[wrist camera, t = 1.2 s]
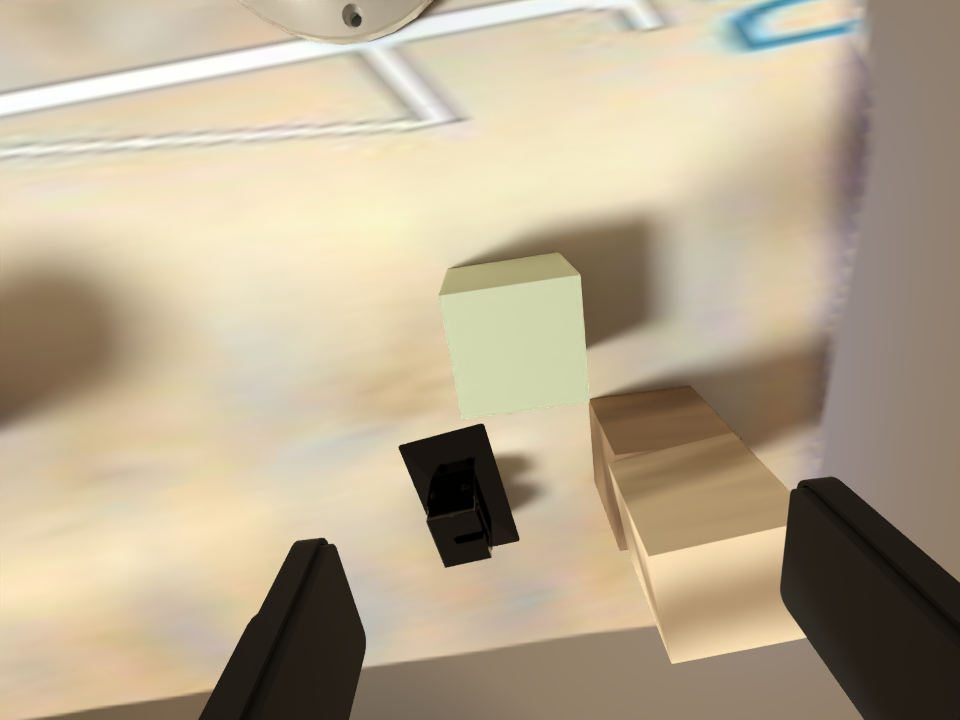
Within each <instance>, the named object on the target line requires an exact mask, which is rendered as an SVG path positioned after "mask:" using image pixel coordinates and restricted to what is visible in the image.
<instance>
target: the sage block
mask: <svg viewBox="0 0 960 720" xmlns="http://www.w3.org/2000/svg"><path fill="white" fill-rule="evenodd" d="M439 301H440V306H441V312H442V317H443V322H444V328H445V333H446V338H447V343H448V349H449V354H450V359H451V365H452V370H453V375H454V381H455V386H456V391H457V396H458V402H459V407H460V412H461V418H462V419H470V418H477V417H485V416H492V415H500V414H507V413H514V412H522V411H529V410H537V409H544V408H552V407H559V406H567V405H574V404H582V403H589V402H590V397H589V384H588V370H587V357H586V343H585V330H584V316H583V303H582V289H581V276H580V274H579V273H578V272H577V271H576V270H575V268H574V267H573V266H572V265H571V264H570V263H569V262H568V261H567V260H566V259H565V258H564V257H563V256H562V255H561V254H560V253H559V252H555V253H549V254H542V255H536V256H529V257H523V258H516V259H510V260H503V261H496V262H490V263H483V264H477V265H470V266H464V267H457V268H451V269H447V272H446V275H445V278H444V281H443V284H442V287H441V290H440V293H439Z"/></svg>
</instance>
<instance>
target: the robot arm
mask: <svg viewBox="0 0 960 720" xmlns="http://www.w3.org/2000/svg"><path fill="white" fill-rule="evenodd" d="M239 1H240V2H241V3H242V4H243V5H244V6H246V7H247V8H248V9H250V10H251V11H253V12H254V13H255V14H257V15H258V16H259V17H261V18H262V19H264V20H265V21H267V22H269V23H271V24H273V25H274V26H276V27H278V28H280V29H282V30H283V31H285V32H287V33H289V34H292V35H295V36H298V37H301V38H304V39H307V40H310V41H314V42H319V43H329V44H339V45H345V44H353V43H361V42H369V41H371V40H374V39H377V38H379V37H382V36H385V35H388V34H390V33H393V32H395V31H396V30H398V29H399V28H401V27H402V26H404V25H405V24H407V23H409V22H410V21H412V20H413V19H415V18H416V17H417V16H418V15H419V14H420V13H421V12H422V11H423V10H424V9H425V8H426V7H427V6H428V5H429V4H430V3H431V2H432V1H433V0H239ZM356 15H357V16H361V18H362V22H361V24H360V26H358V27H354V26H353V25H352V19H353V17H355V16H356ZM780 594H781V597H782V601H783V603H784V605H785V607H786V608H787V610H788V611H789V613H790V614H791V616H792V617H793V619H794V620H795V621H796V623H797V624H798V626H799V627H800V629H801V630H802V631H803V633H804V634H805V636H806V637H807V639H808V640H809V641H810V643H811V644H812V646H813V647H814V649H815V650H816V651H817V653H818V654H819V656H820V657H821V659H822V660H823V661H824V663H825V664H826V666H827V667H828V668H829V670H830V671H831V673H832V674H833V676H834V677H835V679H836V680H837V681H838V683H839V684H840V686H841V687H842V689H843V690H844V691H845V693H846V694H847V696H848V697H849V698H850V700H851V701H852V703H853V704H854V705H855V707H856V709H857V710H858V711H859V713H860V714H861V716H862V717H863V719H864V720H960V582H958V581H957V580H956V579H955V578H954V577H952V576H951V575H950V574H949V573H948V572H947V571H945V570H944V569H943V568H942V567H941V566H940V565H938V564H937V563H936V562H935V561H934V560H932V559H931V558H930V557H929V556H928V555H926V553H924V552H923V551H922V550H921V549H920V548H919V547H917V546H916V545H915V544H914V543H913V542H912V541H910V540H909V539H908V538H907V537H906V536H905V535H903V534H902V533H901V532H900V531H899V530H897V529H896V528H895V527H894V526H893V525H892V524H890V523H889V522H888V521H887V520H886V519H885V518H884V517H882V516H881V515H880V514H879V513H878V512H877V511H875V510H874V509H873V508H872V507H871V506H870V505H868V504H867V503H866V502H865V501H864V500H863V499H861V498H860V497H859V496H858V495H857V494H856V493H854V492H853V491H852V490H851V489H850V488H849V487H847V486H846V485H845V484H844V483H843V482H842V481H840V480H839V479H837V478H835V477H825V478H816V479H808V480H802V481H800V482H799V483H798V486H797V489H793V490H792V491H791V493H790V499H789V508H788V517H787V527H786V536H785V545H784V554H783V564H782V573H781V582H780ZM365 650H366V636H365V632H364V629H363V626H362V623H361V620H360V617H359V614H358V611H357V608H356V605H355V602H354V599H353V596H352V593H351V590H350V587H349V584H348V581H347V578H346V575H345V572H344V569H343V566H342V563H341V560H340V557H339V554H338V551H337V548H336V546H335V545H334V544H328V542H327V540H326V539H325V538H317V539H309V540H300V541H296V542H295V543H294V544H293V546H292V547H291V549H290V551H289V553H288V555H287V557H286V559H285V561H284V563H283V565H282V567H281V569H280V571H279V573H278V575H277V577H276V579H275V581H274V583H273V585H272V587H271V589H270V591H269V593H268V595H267V597H266V599H265V601H264V602H263V604H262V606H261V608H260V610H259V612H258V614H256V615H255V616H254V617H253V618H252V619H251V621H250V622H249V624H248V625H247V627H246V629H245V631H244V633H243V634H242V636H241V638H240V640H239V642H238V644H237V646H236V648H235V650H234V652H233V654H232V656H231V658H230V660H229V662H228V663H227V665H226V667H225V669H224V671H223V673H222V675H221V677H220V679H219V681H218V683H217V685H216V687H215V689H214V690H213V692H212V695H211V697H210V698H209V700H208V702H207V704H206V706H205V708H204V710H203V712H202V714H201V716H200V718H199V720H349V717H350V712H351V708H352V704H353V700H354V696H355V692H356V688H357V684H358V680H359V676H360V671H361V667H362V663H363V659H364V655H365Z"/></svg>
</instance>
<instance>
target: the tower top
mask: <svg viewBox="0 0 960 720" xmlns="http://www.w3.org/2000/svg"><path fill="white" fill-rule="evenodd" d="M608 466H609V470H610V474H611V479H612V483H613V487H614V491H615V495H616V500H617V504H618V508H619V512H620V517H621V521H622V525H623V529H624V534H625V538H626V542H627V546H628V551H629V555H630V557H631V560H632V563H633V565H634V568H635V570H636V573H637V575H638V578H639V581H640V583H641V586H642V588H643V591H644V593H645V596H646V599H647V601H648V604H649V606H650V609H651V611H652V614H653V617H654V619H655V622H656V624H657V627H658V629H659V632H660V635H661V637H662V640H663V642H664V645H665V648H666V650H667V653H668V655H669V658H670V660H671V663H672V664H675V663H679V662H685V661H689V660H695V659H700V658H705V657H710V656H715V655H720V654H725V653H730V652H736V651H740V650H745V649H751V648H756V647H761V646H766V645H771V644H776V643H781V642H786V641H791V640H796V639H801V638H807V637H806V636H805V634H804V633H803V631H802V630H801V629H800V627H799V626H798V624H797V623H796V621H795V620H794V619H793V617H792V616H791V614H790V613H789V611H788V610H787V608H786V607H785V605H784V603H783V601H782V597H781V594H780V582H781V573H782V564H783V554H784V545H785V536H786V527H787V517H788V508H789V499H790V493H791V492H790V491H789V490H788V489H787V488H786V487H785V486H784V485H783V484H782V483H781V482H780V481H779V480H778V479H777V477H776V476H775V475H774V474H773V473H772V472H771V471H770V470H769V469H768V468H767V467H766V466H765V465H764V464H763V463H762V462H761V461H760V460H759V459H758V458H757V457H756V456H755V455H754V454H753V453H752V452H751V451H750V450H749V448H748V447H747V446H746V445H745V444H744V443H743V442H742V441H741V440H740V439H739V438H738V437H737V436H736V435H735V434H734V433H729V434H725V435H721V436H717V437H713V438H708V439H704V440H700V441H696V442H692V443H688V444H684V445H680V446H676V447H672V448H668V449H664V450H660V451H656V452H652V453H648V454H644V455H639V456H635V457H631V458H627V459H623V460H619V461H615V462H611V463H608Z"/></svg>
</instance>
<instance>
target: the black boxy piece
mask: <svg viewBox="0 0 960 720" xmlns="http://www.w3.org/2000/svg"><path fill="white" fill-rule="evenodd" d="M399 450H400V452H401V455H402V457H403V460H404V462H405V464H406V467H407V469H408V472H409V474H410V476H411V479H412V481H413V484H414V486H415V488H416V491H417V493H418V496H419V498H420V500H421V503H422V505H423V508H424V510H425V512H426V515H427V521H426V522H427V525H428V527H429V530H430V532H431V535H432V537H433V539H434V542H435V544H436V547H437V549H438V552H439V554H440V557H441V559H442V561H443V564H444V566H445V568H446V567H451V566H456V565H460V564H465V563H470V562H474V561H479V560H483V559H488V558H491V557H492V556H491V550H492V549H493V546H498V545H503V544H507V543H512V542H517V541H519V535H518V532H517V529H516V526H515V523H514V519H513V516H512V513H511V510H510V507H509V503H508V500H507V497H506V494H505V490H504V487H503V484H502V481H501V478H500V474H499V471H498V468H497V465H496V461H495V458H494V455H493V452H492V449H491V445H490V442H489V439H488V436H487V432H486V429H485V426H484V424H477V425H474V426H470V427H466V428H463V429H459V430H455V431H451V432H448V433H444V434H440V435H436V436H433V437H429V438H425V439H422V440H418V441H414V442H410V443H407V444H403V445H400V446H399Z"/></svg>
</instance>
